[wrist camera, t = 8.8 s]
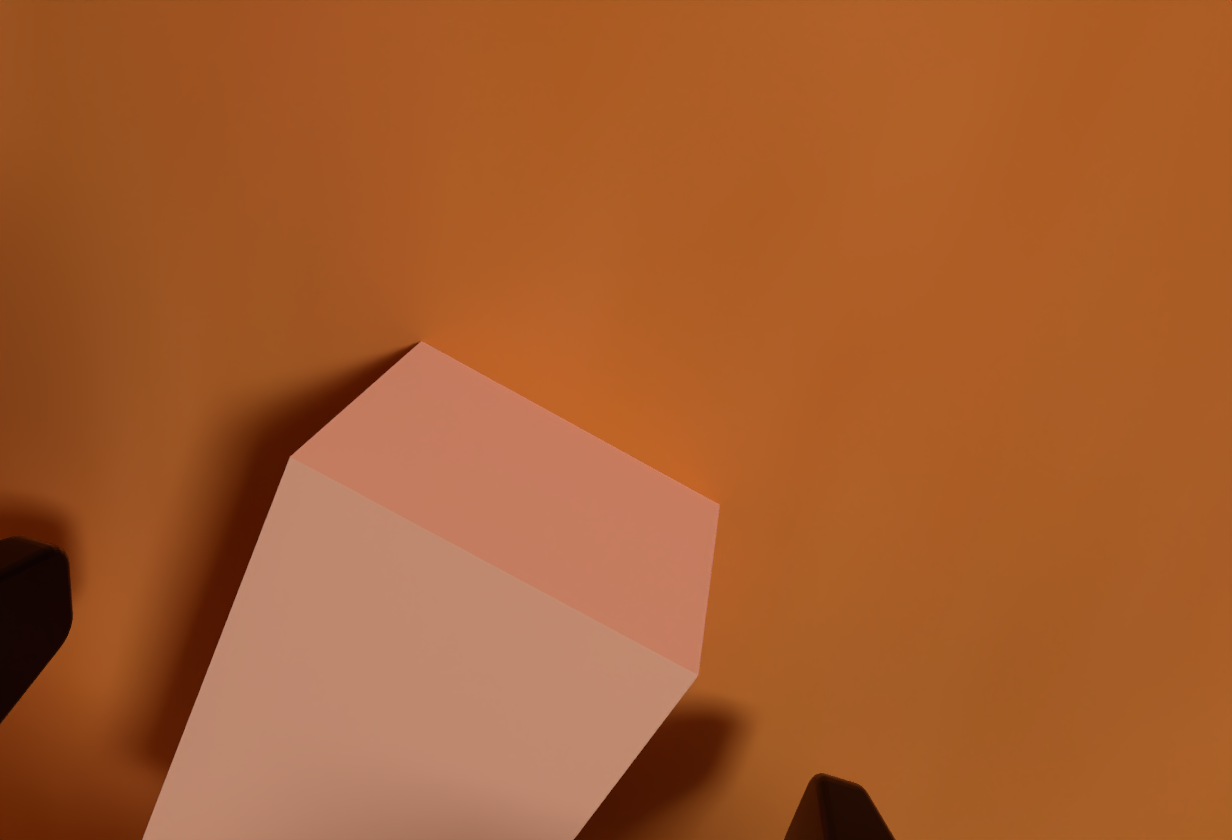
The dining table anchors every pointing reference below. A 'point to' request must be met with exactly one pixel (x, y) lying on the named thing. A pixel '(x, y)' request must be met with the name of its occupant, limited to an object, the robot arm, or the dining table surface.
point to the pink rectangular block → (445, 627)
